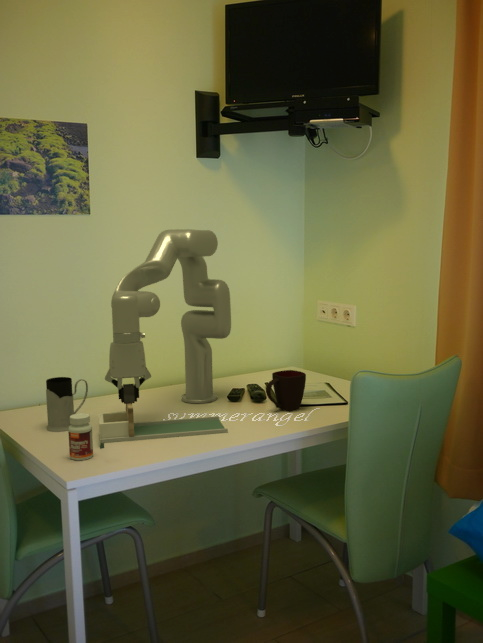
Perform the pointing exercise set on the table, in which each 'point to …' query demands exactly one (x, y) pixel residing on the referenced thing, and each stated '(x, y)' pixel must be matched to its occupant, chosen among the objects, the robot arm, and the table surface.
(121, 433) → the pitch
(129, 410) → the striker
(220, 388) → the table surface
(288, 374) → the cup
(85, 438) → the pill bottle
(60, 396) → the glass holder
